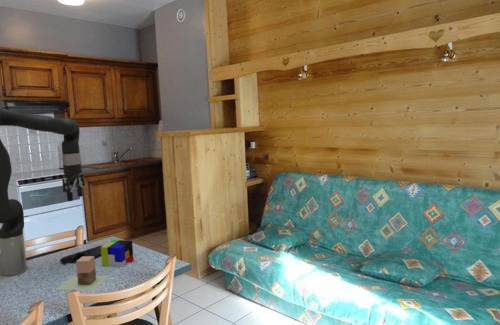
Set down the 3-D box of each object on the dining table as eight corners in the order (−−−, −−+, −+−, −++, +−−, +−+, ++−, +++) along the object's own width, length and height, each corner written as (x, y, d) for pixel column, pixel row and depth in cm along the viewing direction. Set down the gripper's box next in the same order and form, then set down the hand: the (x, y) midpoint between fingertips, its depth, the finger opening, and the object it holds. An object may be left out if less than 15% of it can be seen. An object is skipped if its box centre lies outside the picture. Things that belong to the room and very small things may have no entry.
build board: (55, 292, 141) (55, 289, 141) (72, 278, 153) (71, 276, 152) (94, 291, 140) (94, 288, 140) (108, 278, 152) (108, 275, 152)
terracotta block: (77, 273, 143) (76, 261, 143) (83, 268, 148) (82, 256, 147) (89, 272, 143) (88, 261, 142) (95, 267, 148) (94, 256, 147)
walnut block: (78, 285, 144) (77, 273, 143) (84, 279, 149) (83, 268, 148) (90, 284, 143) (89, 273, 143) (96, 279, 148) (95, 267, 148)
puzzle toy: (122, 269, 161) (120, 248, 160) (102, 268, 163) (100, 247, 162) (133, 260, 171) (132, 240, 169) (114, 259, 173) (113, 239, 171)
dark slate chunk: (114, 253, 182) (113, 244, 182) (72, 269, 164) (71, 259, 164) (97, 248, 191) (96, 239, 190) (55, 262, 173) (54, 253, 172)
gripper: (72, 161, 168) (75, 195, 170) (54, 165, 154) (58, 202, 156) (88, 161, 168) (91, 195, 170) (71, 165, 154) (75, 201, 156)
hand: (75, 198), depth 163 cm, fingers open, 8 cm apart
